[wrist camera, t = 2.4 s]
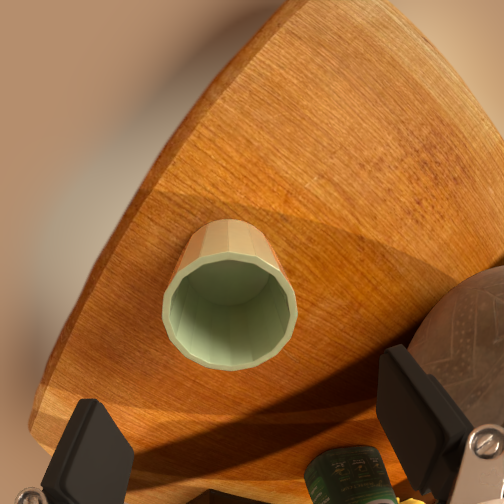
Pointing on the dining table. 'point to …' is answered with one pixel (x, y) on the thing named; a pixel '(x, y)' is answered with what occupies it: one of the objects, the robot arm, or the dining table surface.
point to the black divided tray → (221, 499)
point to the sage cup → (229, 298)
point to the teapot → (410, 501)
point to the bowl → (468, 346)
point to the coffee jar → (349, 477)
